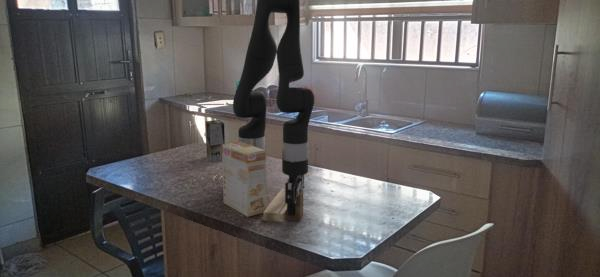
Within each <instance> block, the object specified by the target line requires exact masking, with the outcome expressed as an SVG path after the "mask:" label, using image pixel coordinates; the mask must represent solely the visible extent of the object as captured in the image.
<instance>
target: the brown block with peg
mask: <svg viewBox="0 0 600 277" xmlns="http://www.w3.org/2000/svg"><path fill="white" fill-rule="evenodd" d="M290 199H292V196H290ZM303 217H304V189H303V190H299V195H298V196H297V198H296V214H295V216H289V215H288V203H287V217H286V220H287V221H298V222H299V221H300V222H301V220H302V219H303Z"/></svg>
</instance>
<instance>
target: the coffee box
mask: <svg viewBox="0 0 600 277" xmlns="http://www.w3.org/2000/svg"><path fill="white" fill-rule="evenodd" d="M225 136H226V135H225V123H224V121H223V122H222V121H221V120H220V119H218V120H217V119H214V120H205V141H206V142H205V143H206V144H205V146H206V158H207V159H208V161H210V163H215V162H216V163H217V162H222V144H226V143H225V142H226V139H225V138H226V137H225Z"/></svg>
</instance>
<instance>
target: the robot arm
mask: <svg viewBox="0 0 600 277" xmlns="http://www.w3.org/2000/svg"><path fill="white" fill-rule="evenodd" d="M256 1H257V2H256V9H255V15H254V23H253V27H252V31H251V36H250V39H249V43H248V44H247V45H248V46H247V50H246V54H245V59H244V64H243V68H242V71H241V76H240V79H239V82H238V84H237V87H236V91H235V93H234V97H233V100H232V110H233V111H232V112H233V113H234V115H235V116H236V118H239V119H240V118H241V119H246V118H251V120H250V121H249V122H248V123H246V124H244V125H242V126H240V128H239V129H238V142H242V143H245V144H248V145H251V146H254V147H257V148H260V149H263V150H266V140H265V138H266V134H265V132H266V126H267V124H266V122H267V100H266V95H265V93H264V92H263V91H262V90H254V88H255V87H256V86H257V85H258V84H259V83H260V82H261V81H262V80H263V79H264V78H265V77H266V76H268V74H269V73H270V72H271V70H272V69H273V66H274V64H275V59H276V62H277V69H278V88H277V94H276V106H277V108H278V110H279V111H280V112H282V113H283V114H291V113H293V114H294V113H298V114H297V116H296V117H295V118H293V119H290V120H287V121H285V122H284V123H283V125H282V149H281V155H282V156H281V158H282V159H281V167H282V168H281V172H282V173H283V174H284V175H286V176H288V179H287V181H286V182H285V183H284V184H285V186H284V187H285V203H288V215H289V216H295V214H296V198H297V196H298V195H299V190H303V191H304V189H305V175H306V174H307V173H308V172H309V143H308V139H309V138H308V136H309V135H308V133H309V131H308V128H309V123H310V119H311V115H312V113H313V110H314V107H315V106H314V105H315V94H314V92H313V90H312V89H311V88H310V87H307V86H301V87H298V86H296V87H295V86H294V87H290V83H294V82H297V81H300V80H301V79H303V77H304V76H305V73H304V72H305V71H304V65H303V57H302V52H301V51H302V50H301V38H300V36H301V35H300V34H301V3H300V2H301V1H300V0H256ZM273 13H274V14H275V13H276V14H285V15H286V25H285V26H286V27H285V30H284V32H283V34H282V37H281V38H280V40H279V43H278V45H277V42H276V40H275V37H274V35H273V34H272V30H271V29H270V25H269V19H270V15H271V14H273ZM290 196H292V199H290Z"/></svg>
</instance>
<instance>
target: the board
mask: <svg viewBox="0 0 600 277" xmlns="http://www.w3.org/2000/svg"><path fill="white" fill-rule="evenodd" d="M262 214H263V216H262V217H263V221H267V222H268V221H270V222H280V223H284V222H285V220H287V203H285V188H284V187H282V188H280V190H279V192H278V193H277V194H276V196H275V197H274V198H273V200H272V201H271V202H270V203H269V204H268V206H266V210H265V211H264V212H263V213H262Z"/></svg>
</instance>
